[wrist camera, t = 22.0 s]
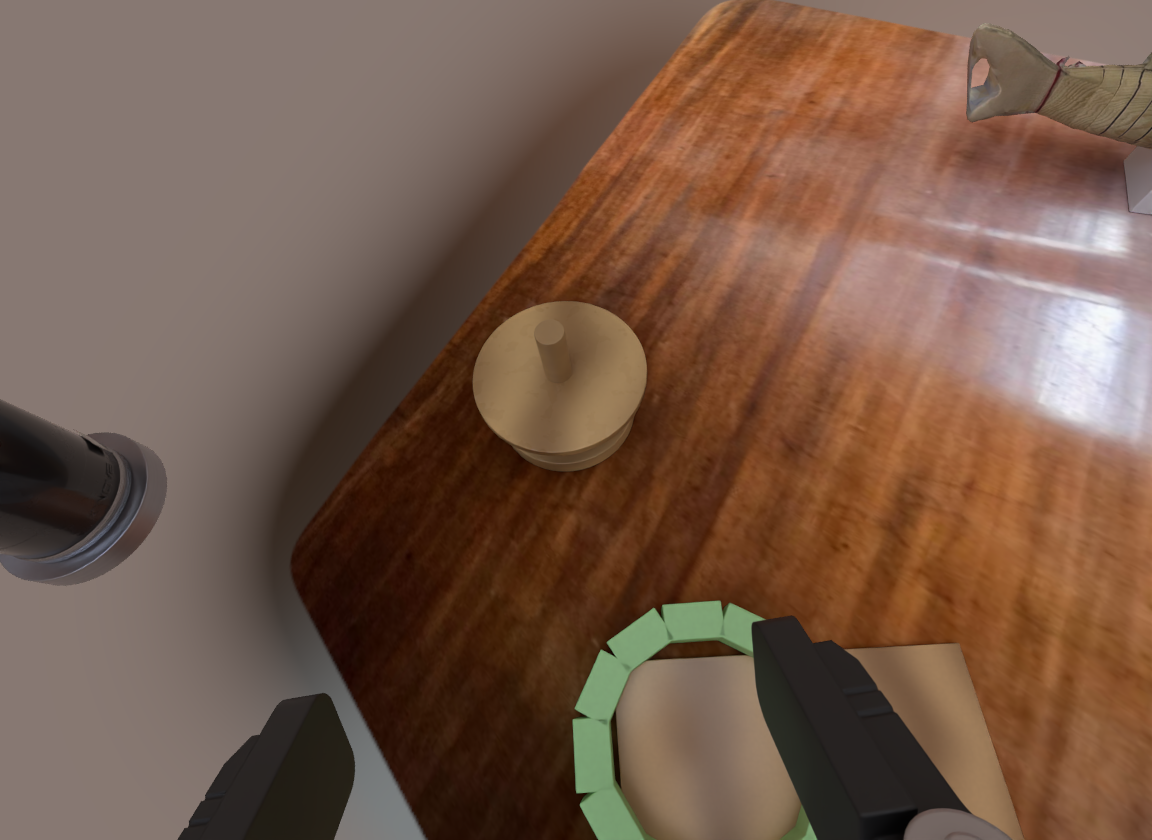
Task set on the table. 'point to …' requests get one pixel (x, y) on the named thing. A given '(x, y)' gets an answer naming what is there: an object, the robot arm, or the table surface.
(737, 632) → the ring
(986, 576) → the table surface
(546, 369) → the stand
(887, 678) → the mat
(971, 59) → the wood carving
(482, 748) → the table surface
